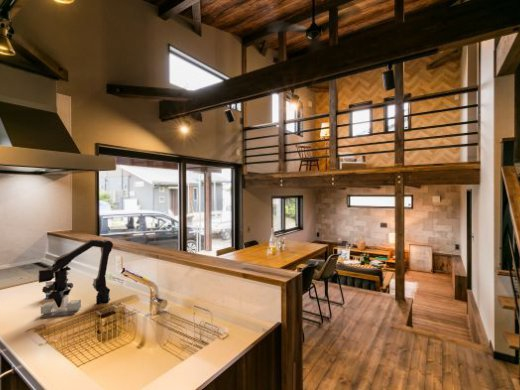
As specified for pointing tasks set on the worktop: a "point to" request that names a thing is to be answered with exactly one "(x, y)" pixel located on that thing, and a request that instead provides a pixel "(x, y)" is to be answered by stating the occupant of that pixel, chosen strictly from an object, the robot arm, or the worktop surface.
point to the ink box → (47, 285)
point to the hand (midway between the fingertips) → (61, 305)
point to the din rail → (69, 310)
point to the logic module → (64, 303)
